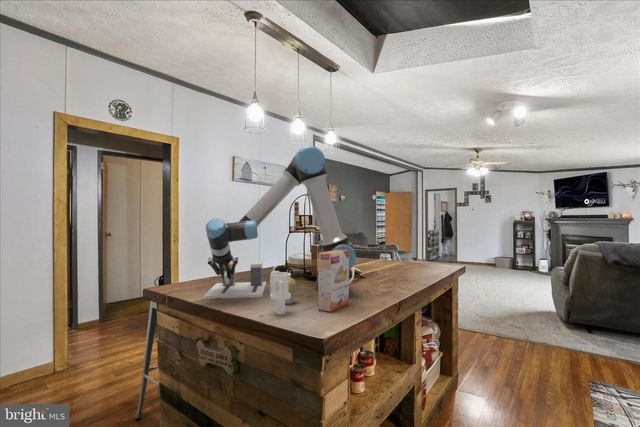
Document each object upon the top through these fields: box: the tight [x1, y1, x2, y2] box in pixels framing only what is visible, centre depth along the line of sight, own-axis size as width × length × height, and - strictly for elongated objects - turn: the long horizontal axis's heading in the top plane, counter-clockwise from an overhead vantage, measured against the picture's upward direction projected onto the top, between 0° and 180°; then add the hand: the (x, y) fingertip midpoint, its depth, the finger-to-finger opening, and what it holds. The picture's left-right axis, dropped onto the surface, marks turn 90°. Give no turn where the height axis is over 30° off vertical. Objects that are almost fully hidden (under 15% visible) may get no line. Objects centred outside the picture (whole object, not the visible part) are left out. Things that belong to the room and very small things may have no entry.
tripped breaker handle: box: [222, 262, 236, 286], centre depth 158 cm, size 4×5×10 cm
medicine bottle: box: [269, 265, 288, 296], centre depth 146 cm, size 7×7×12 cm
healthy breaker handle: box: [250, 262, 263, 286], centre depth 157 cm, size 4×5×10 cm
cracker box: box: [317, 250, 350, 313], centre depth 124 cm, size 14×6×21 cm, turn 148°
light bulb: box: [285, 277, 297, 305], centre depth 130 cm, size 6×6×10 cm
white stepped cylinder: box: [269, 271, 292, 316], centre depth 116 cm, size 7×7×15 cm
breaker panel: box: [202, 281, 267, 300], centre depth 151 cm, size 26×24×1 cm
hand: (227, 281), depth 154 cm, fingers closed
